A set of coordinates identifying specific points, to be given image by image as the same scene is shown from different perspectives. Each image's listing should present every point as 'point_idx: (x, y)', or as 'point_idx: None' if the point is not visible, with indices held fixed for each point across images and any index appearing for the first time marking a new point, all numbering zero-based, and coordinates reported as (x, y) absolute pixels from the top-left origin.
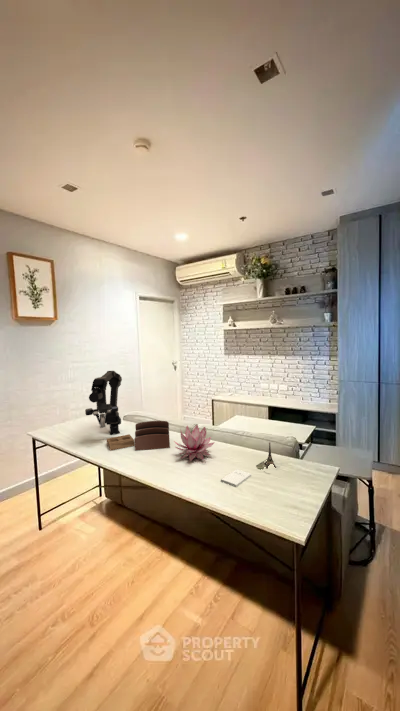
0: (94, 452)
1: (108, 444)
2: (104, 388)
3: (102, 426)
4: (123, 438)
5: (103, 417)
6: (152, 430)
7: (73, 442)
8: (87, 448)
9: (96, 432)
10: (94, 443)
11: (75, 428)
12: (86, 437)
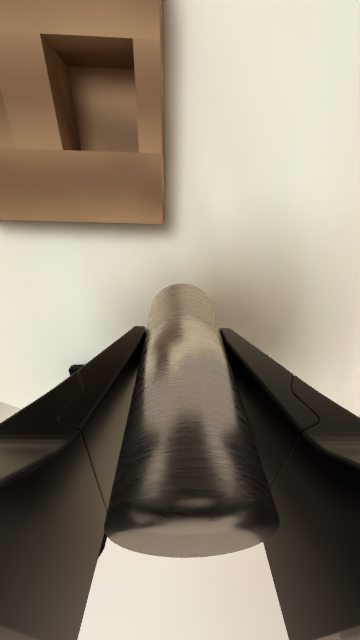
0: (299, 51)
1: (162, 101)
2: None
3: (192, 291)
4: (5, 149)
5: (166, 392)
6: None
7: (317, 357)
8: (302, 210)
9: None
10: (233, 283)
11: None
12: None
